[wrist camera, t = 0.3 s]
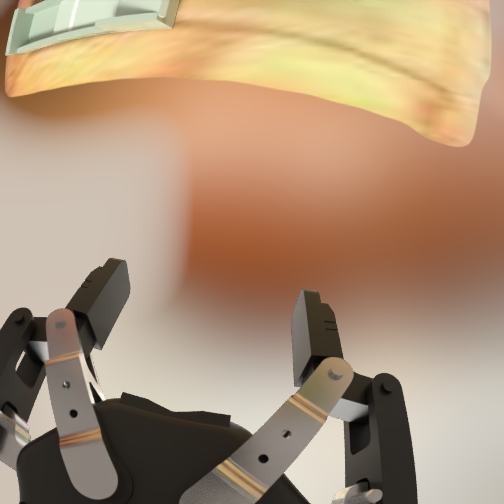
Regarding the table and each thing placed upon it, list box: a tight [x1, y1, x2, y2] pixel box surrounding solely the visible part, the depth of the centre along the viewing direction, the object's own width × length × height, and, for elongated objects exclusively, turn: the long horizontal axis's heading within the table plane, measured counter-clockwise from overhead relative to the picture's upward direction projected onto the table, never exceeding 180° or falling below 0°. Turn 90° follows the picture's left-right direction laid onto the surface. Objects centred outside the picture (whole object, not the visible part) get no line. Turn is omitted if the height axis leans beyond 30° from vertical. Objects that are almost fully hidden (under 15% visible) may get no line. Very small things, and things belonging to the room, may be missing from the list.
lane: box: [5, 0, 180, 55], centre depth 21 cm, size 9×32×6 cm, turn 79°
